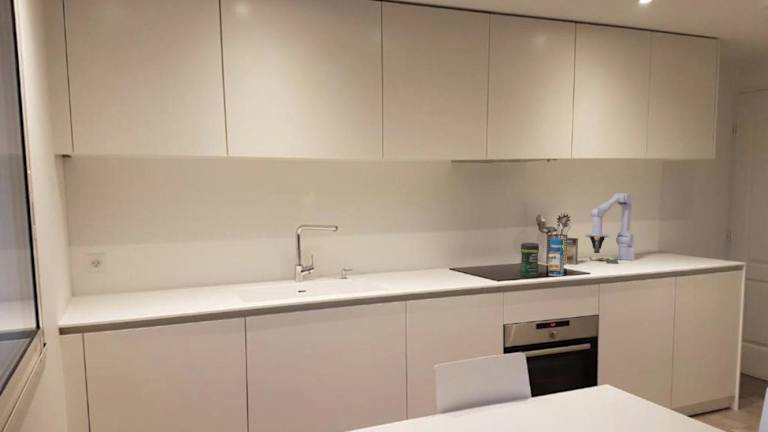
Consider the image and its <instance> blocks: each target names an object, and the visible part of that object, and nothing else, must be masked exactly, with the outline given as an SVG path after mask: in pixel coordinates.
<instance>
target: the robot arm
mask: <svg viewBox="0 0 768 432" xmlns="http://www.w3.org/2000/svg"><path fill="white" fill-rule="evenodd" d="M615 204H618V205H619V206H620V207H622V208H621V224H620V231H619V232H618V233H617V237H616V238H615V242H616V244H617V246H618V257H616V259H617V260H620V261H621V260H622V261H635V251H636V250H635V246H634V243H635V239H634V234H633V233H632V232H631V219H632V205H633V195H632V194H631V193H629V192H628V193H621V192H616V193H614V194H613V195H612V197H611V198H610V199H609V200H608V201H607V202H605V201H604V202H602V203H601V204H600V205H599V206H597V207H595V208H592V210H591V211H590V216H591V220H592V233H584V237H585V238H589V240H590V241H591V244H592V249H593V250H594V248H595V247H594V240H595V239H594V238H600V250H601V249H602V246H603V243H604V241H605V238H610V236H611V235H610V234H609V233H608V234H607V233H603V218H604V217H605V216H606V213H608V212H609V211H610V210H611V207H614V205H615Z"/></svg>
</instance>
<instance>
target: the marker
mask: <svg viewBox="0 0 768 432" xmlns="http://www.w3.org/2000/svg"><path fill="white" fill-rule="evenodd" d="M594 239H595V240H594V247H595V248H594V249H593V250H594V251H593V252H594V254H600V250H601V249H600V237H594Z"/></svg>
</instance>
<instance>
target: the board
mask: <svg viewBox="0 0 768 432" xmlns="http://www.w3.org/2000/svg"><path fill="white" fill-rule="evenodd" d="M588 258H589V261H591V262H592V261H593V262H594V261H595V262H606V259H609V257H593V256H592V257H590V256H589V257H588Z"/></svg>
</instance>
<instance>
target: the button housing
mask: <svg viewBox="0 0 768 432" xmlns="http://www.w3.org/2000/svg"><path fill="white" fill-rule="evenodd" d="M618 260H619V259H618V258H615V260H609V259H606V261H605V263H606V264H610V265H611V264H614V265H616V264H618V263H619V261H618Z"/></svg>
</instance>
